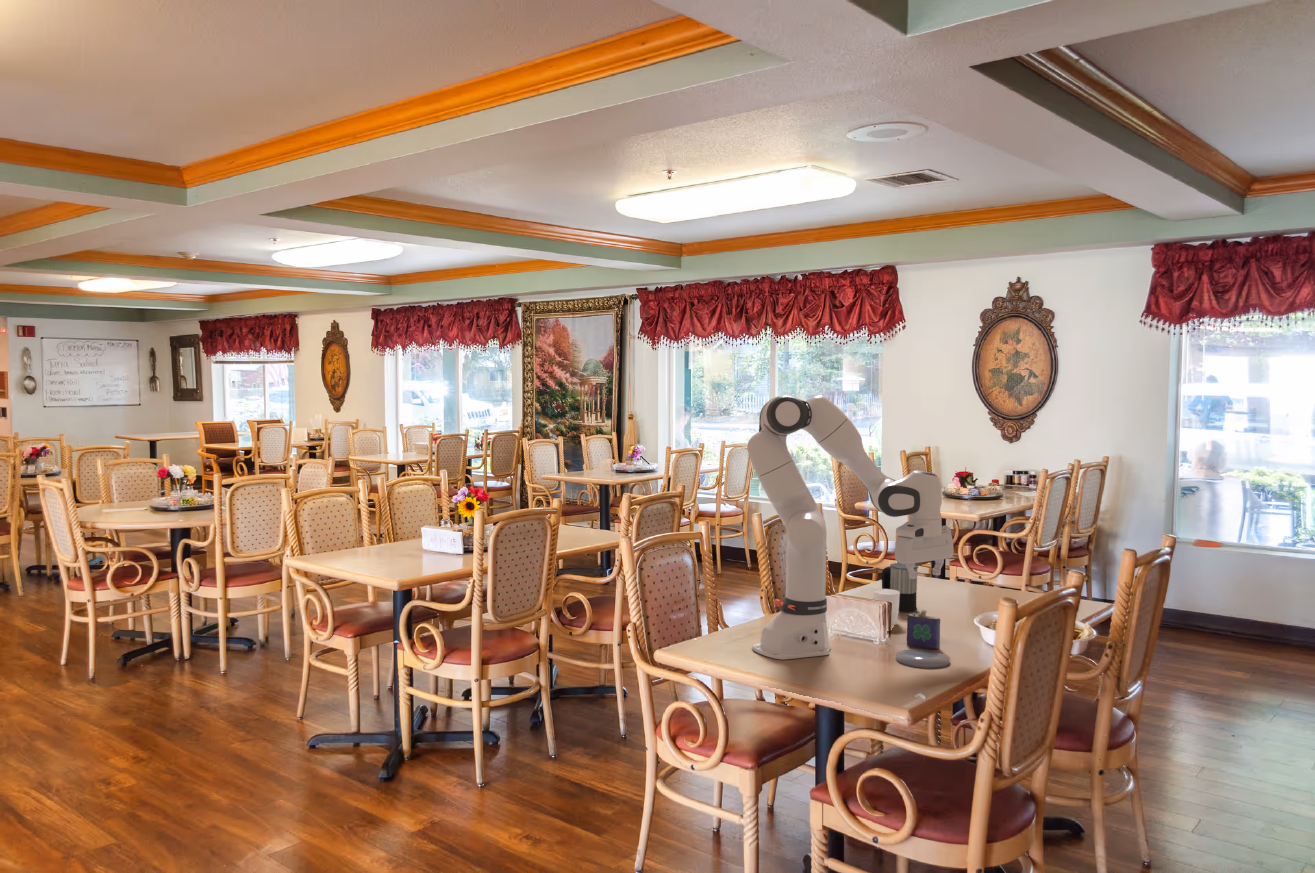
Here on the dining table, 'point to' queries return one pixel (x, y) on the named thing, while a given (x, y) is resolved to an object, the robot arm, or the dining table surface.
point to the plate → (922, 658)
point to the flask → (923, 631)
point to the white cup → (891, 597)
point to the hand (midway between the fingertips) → (924, 576)
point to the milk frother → (901, 585)
